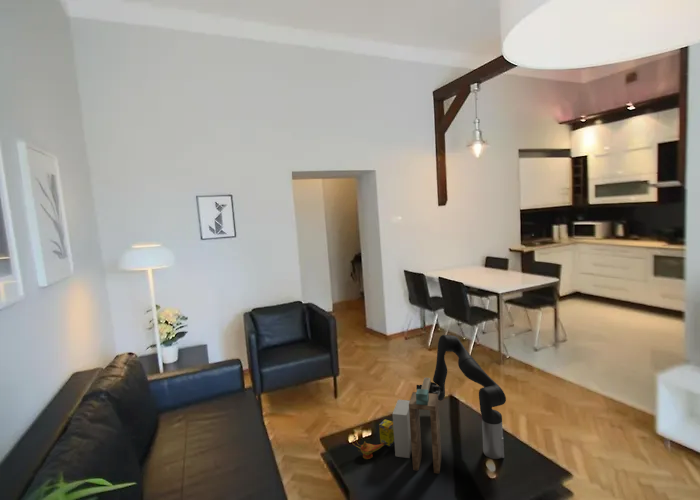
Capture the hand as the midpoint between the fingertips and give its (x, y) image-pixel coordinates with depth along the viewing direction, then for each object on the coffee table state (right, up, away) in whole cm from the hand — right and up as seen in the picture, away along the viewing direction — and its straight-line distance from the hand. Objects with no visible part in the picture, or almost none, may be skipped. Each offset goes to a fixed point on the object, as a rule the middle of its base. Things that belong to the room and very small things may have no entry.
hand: (428, 387), depth 193 cm
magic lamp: (-30, -32, -7) cm, 45 cm away
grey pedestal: (-13, -30, -3) cm, 33 cm away
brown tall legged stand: (-4, -30, -16) cm, 34 cm away
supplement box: (-21, -30, +3) cm, 37 cm away
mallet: (-5, +2, -13) cm, 14 cm away
